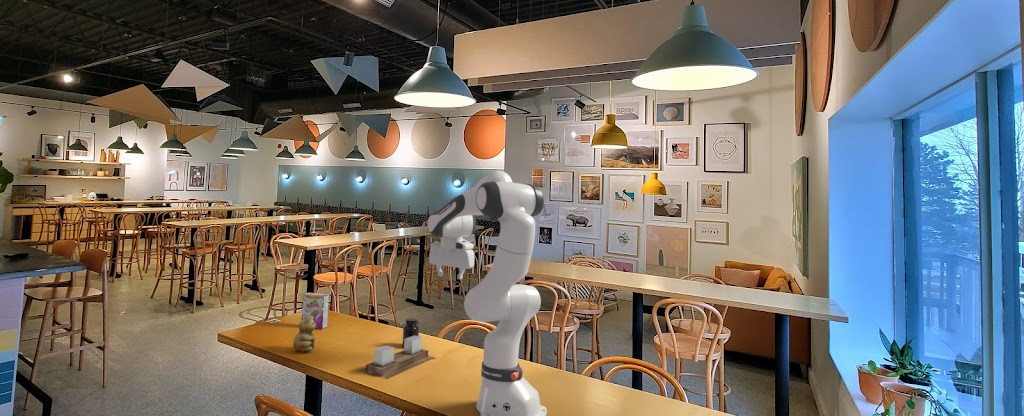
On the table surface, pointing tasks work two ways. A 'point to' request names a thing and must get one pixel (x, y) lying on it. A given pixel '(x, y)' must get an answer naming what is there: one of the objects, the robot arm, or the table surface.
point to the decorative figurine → (305, 335)
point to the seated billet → (383, 356)
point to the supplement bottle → (410, 329)
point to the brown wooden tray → (398, 364)
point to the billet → (412, 345)
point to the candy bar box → (316, 308)
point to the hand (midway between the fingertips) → (450, 277)
